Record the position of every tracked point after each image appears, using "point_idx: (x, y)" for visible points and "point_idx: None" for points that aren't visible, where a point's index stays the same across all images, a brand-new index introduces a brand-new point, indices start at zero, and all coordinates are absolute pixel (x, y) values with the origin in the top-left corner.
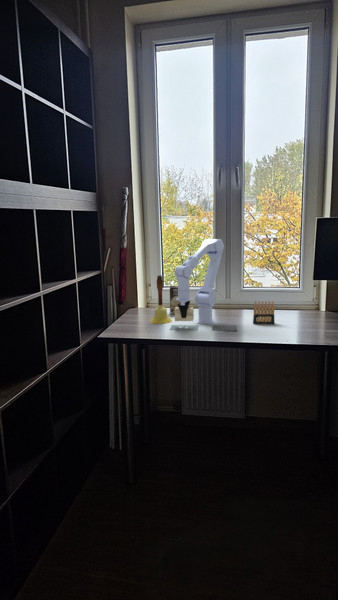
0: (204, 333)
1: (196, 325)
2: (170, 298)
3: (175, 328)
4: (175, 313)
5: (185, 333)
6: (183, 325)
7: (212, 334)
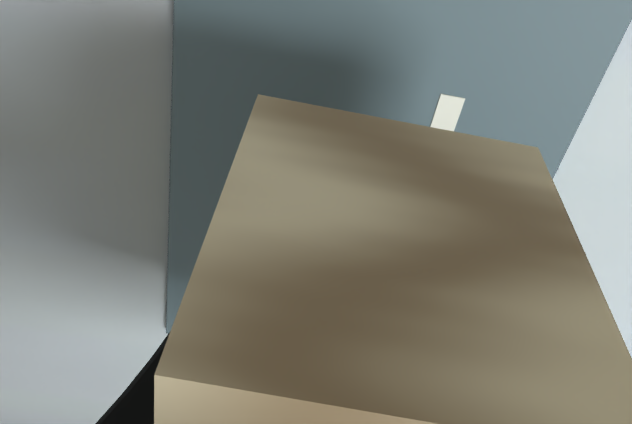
0: (50, 369)
1: None
2: None
3: (318, 30)
4: (204, 257)
5: (3, 168)
6: None
7: (21, 420)
